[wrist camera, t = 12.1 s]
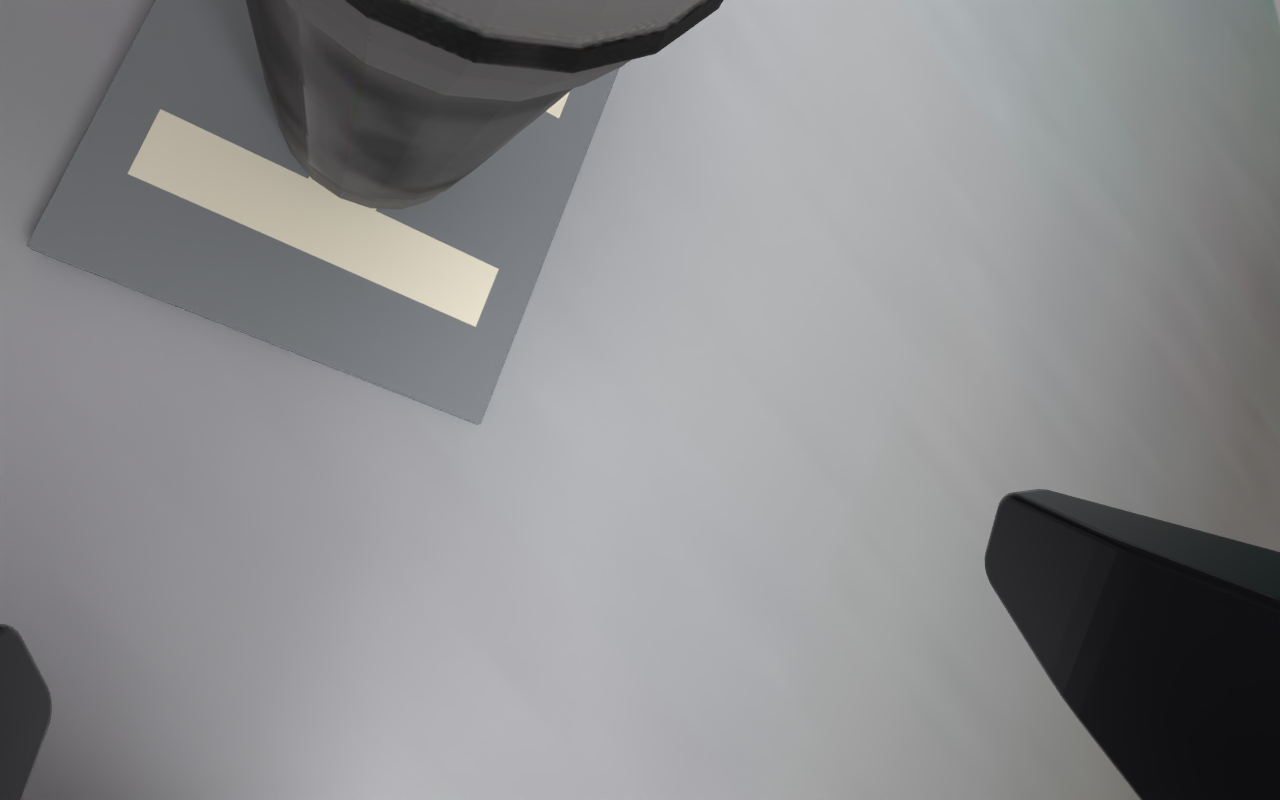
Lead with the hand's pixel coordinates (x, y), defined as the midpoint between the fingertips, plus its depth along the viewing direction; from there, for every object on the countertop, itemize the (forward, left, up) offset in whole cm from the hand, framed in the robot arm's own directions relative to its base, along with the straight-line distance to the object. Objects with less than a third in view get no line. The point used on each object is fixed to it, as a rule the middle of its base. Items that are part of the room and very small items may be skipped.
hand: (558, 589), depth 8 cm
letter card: (+8, +4, -13) cm, 16 cm away
